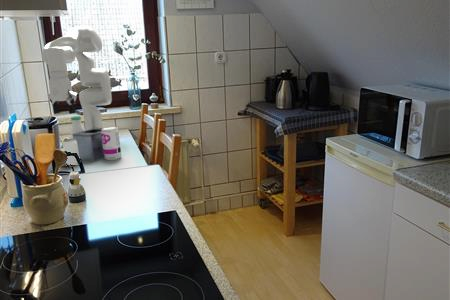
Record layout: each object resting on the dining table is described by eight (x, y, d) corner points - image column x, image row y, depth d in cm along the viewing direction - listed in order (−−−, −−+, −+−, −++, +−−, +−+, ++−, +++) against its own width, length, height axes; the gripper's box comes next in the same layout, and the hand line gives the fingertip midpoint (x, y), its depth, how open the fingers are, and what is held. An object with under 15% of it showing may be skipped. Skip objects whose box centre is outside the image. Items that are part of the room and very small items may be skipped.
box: (76, 159, 198) (72, 134, 195) (99, 151, 212) (96, 127, 209) (94, 161, 193) (90, 134, 190) (117, 153, 207) (113, 128, 204)
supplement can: (111, 161, 191) (107, 130, 187) (101, 159, 196) (97, 129, 192) (125, 157, 197) (121, 127, 193) (114, 155, 202) (110, 126, 198)
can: (75, 166, 185) (71, 141, 182) (63, 166, 187) (59, 141, 184) (83, 162, 192) (79, 138, 189) (71, 162, 193) (67, 138, 190)
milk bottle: (86, 155, 205) (80, 117, 200) (71, 156, 205) (65, 118, 200) (91, 152, 212) (85, 114, 208) (77, 152, 213) (71, 115, 208)
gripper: (38, 76, 180) (45, 114, 184) (65, 75, 172) (71, 114, 176) (52, 75, 186) (58, 111, 190) (79, 74, 178) (84, 112, 182)
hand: (64, 113), depth 183 cm, fingers open, 9 cm apart
